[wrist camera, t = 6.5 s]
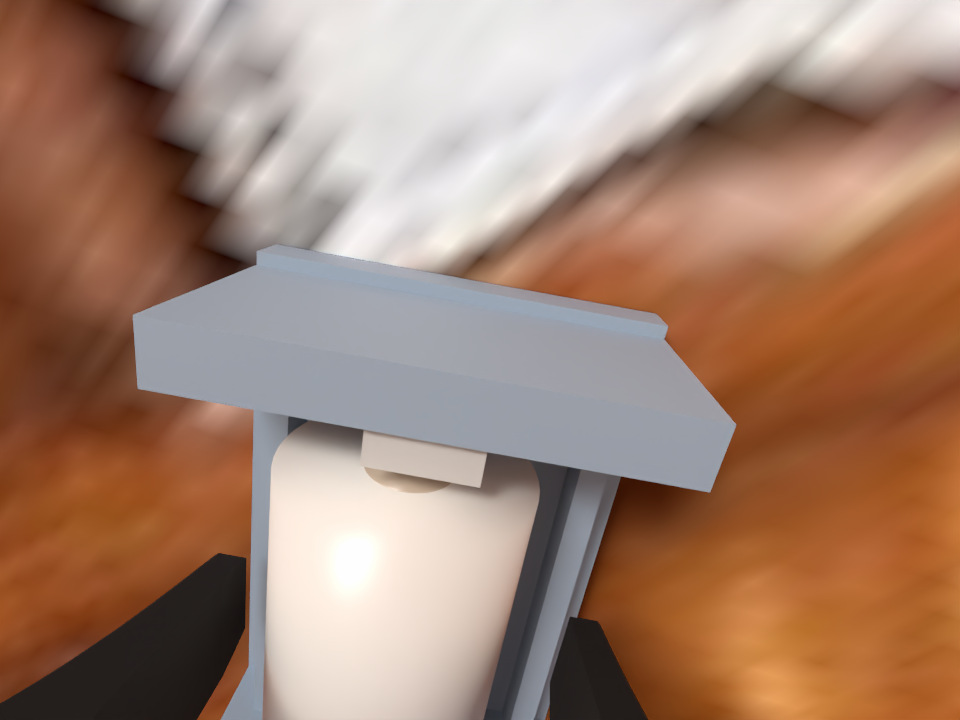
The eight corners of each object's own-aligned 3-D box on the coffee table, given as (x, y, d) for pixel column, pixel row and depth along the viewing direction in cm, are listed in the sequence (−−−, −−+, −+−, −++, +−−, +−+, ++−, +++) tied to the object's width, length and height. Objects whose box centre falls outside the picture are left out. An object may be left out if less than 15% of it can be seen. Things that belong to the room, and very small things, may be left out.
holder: (533, 720, 17) (540, 926, 13) (262, 671, 17) (169, 860, 13) (656, 313, 12) (743, 406, 8) (276, 244, 12) (131, 294, 8)
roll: (469, 661, 16) (473, 879, 11) (296, 644, 15) (222, 864, 10) (524, 418, 13) (561, 574, 8) (312, 389, 12) (221, 535, 8)
